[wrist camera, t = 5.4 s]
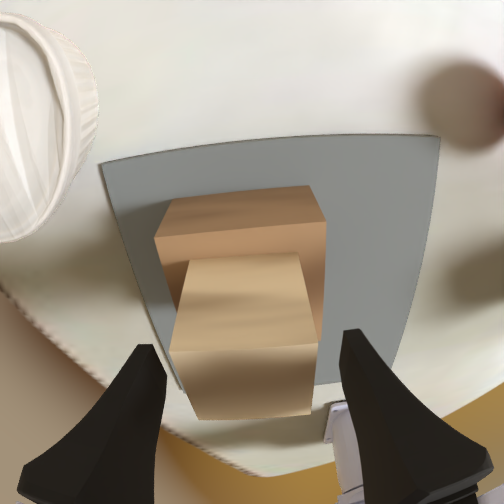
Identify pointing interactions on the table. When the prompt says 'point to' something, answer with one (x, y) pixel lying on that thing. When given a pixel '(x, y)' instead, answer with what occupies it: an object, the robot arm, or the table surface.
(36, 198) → the ramekin
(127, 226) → the mat
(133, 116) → the table surface
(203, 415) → the birch block
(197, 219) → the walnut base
